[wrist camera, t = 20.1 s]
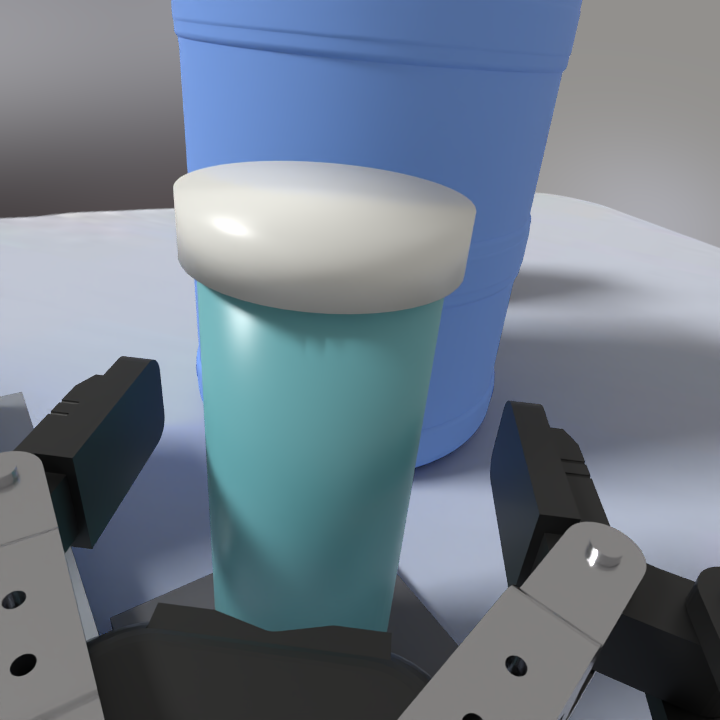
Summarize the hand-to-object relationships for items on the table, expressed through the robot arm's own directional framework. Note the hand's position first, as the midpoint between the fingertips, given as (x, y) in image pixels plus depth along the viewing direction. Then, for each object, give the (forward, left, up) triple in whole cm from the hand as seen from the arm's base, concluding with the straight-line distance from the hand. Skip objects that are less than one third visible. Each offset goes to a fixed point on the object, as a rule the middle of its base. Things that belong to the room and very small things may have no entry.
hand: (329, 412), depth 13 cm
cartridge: (0, -1, -9) cm, 9 cm away
